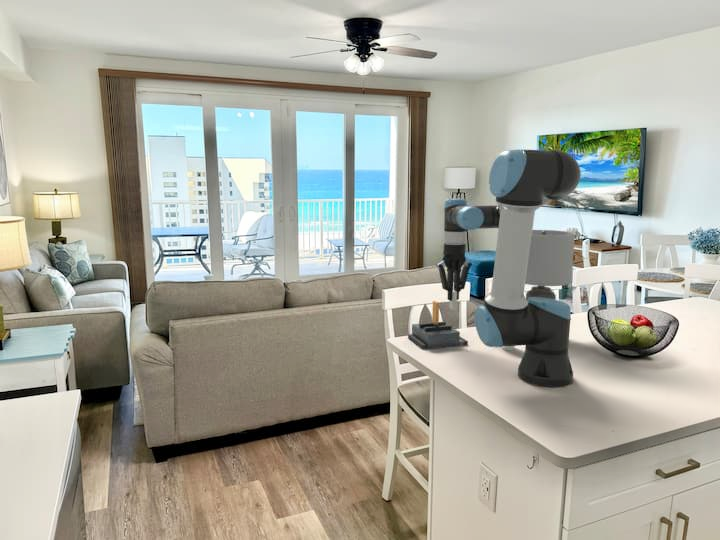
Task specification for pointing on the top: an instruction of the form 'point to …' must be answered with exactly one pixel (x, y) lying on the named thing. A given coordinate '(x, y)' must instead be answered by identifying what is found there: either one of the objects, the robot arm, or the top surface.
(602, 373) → the top surface
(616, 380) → the top surface
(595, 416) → the top surface
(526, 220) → the robot arm
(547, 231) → the lamp
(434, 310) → the lever
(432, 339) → the box
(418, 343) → the dark gray bar
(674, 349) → the top surface
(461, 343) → the gray slab
